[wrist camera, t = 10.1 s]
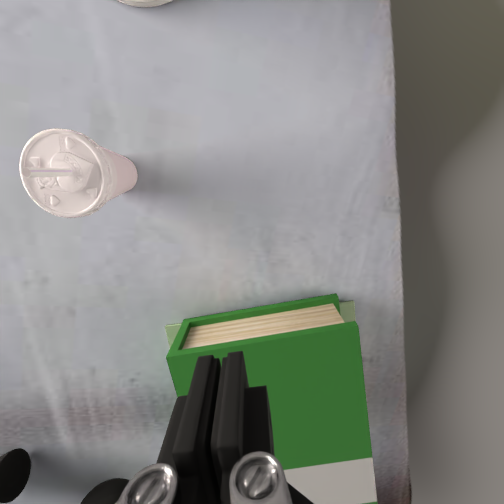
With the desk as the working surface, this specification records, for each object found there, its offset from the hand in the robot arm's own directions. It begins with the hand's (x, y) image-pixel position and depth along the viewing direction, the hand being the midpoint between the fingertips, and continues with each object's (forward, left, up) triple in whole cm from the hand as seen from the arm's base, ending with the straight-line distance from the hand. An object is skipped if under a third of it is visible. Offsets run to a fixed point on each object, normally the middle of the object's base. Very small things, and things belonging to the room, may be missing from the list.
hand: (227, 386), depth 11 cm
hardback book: (+7, +1, -18) cm, 20 cm away
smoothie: (-9, -12, -23) cm, 27 cm away
